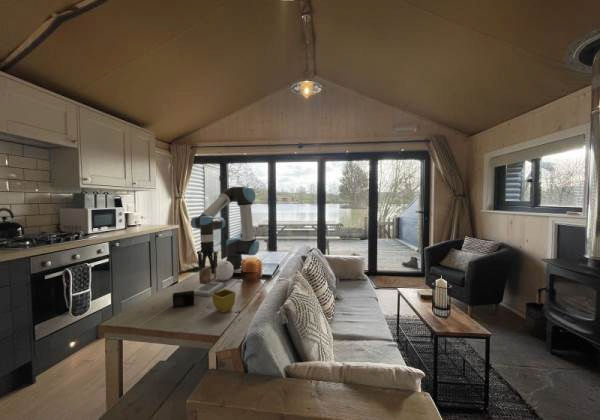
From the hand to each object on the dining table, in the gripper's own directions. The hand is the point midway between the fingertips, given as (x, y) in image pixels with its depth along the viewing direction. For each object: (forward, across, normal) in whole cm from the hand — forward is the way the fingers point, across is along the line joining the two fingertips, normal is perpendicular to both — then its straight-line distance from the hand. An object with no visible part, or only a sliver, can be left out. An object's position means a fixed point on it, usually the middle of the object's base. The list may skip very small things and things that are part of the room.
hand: (208, 278), depth 170 cm
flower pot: (+8, +25, -24) cm, 35 cm away
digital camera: (+8, +1, -24) cm, 25 cm away
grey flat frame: (+7, 0, 0) cm, 7 cm away
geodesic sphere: (+7, -1, +20) cm, 21 cm away
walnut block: (+2, 0, 0) cm, 2 cm away
